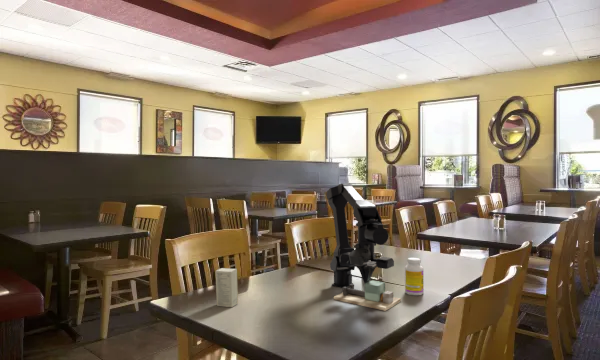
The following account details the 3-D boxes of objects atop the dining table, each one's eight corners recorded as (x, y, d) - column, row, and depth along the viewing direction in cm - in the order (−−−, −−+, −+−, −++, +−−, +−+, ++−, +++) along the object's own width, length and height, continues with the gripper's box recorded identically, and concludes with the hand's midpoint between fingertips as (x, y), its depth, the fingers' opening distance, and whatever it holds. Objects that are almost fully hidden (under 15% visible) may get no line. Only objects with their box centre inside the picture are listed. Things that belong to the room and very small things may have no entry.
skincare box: (238, 303, 136) (237, 268, 136) (231, 307, 131) (231, 271, 131) (222, 301, 138) (221, 267, 138) (215, 306, 133) (215, 270, 133)
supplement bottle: (424, 296, 142) (424, 261, 142) (405, 295, 144) (405, 260, 143) (422, 291, 149) (422, 257, 149) (404, 290, 150) (404, 256, 150)
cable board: (333, 299, 140) (333, 287, 140) (351, 291, 149) (351, 280, 149) (385, 310, 127) (385, 298, 127) (400, 301, 137) (400, 289, 137)
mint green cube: (364, 298, 136) (364, 283, 136) (372, 295, 140) (372, 280, 140) (378, 301, 133) (377, 286, 133) (385, 297, 137) (385, 282, 137)
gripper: (331, 240, 138) (331, 285, 138) (379, 246, 126) (379, 294, 126) (347, 236, 146) (348, 278, 146) (394, 241, 135) (394, 287, 135)
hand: (366, 284), depth 138 cm, fingers closed
